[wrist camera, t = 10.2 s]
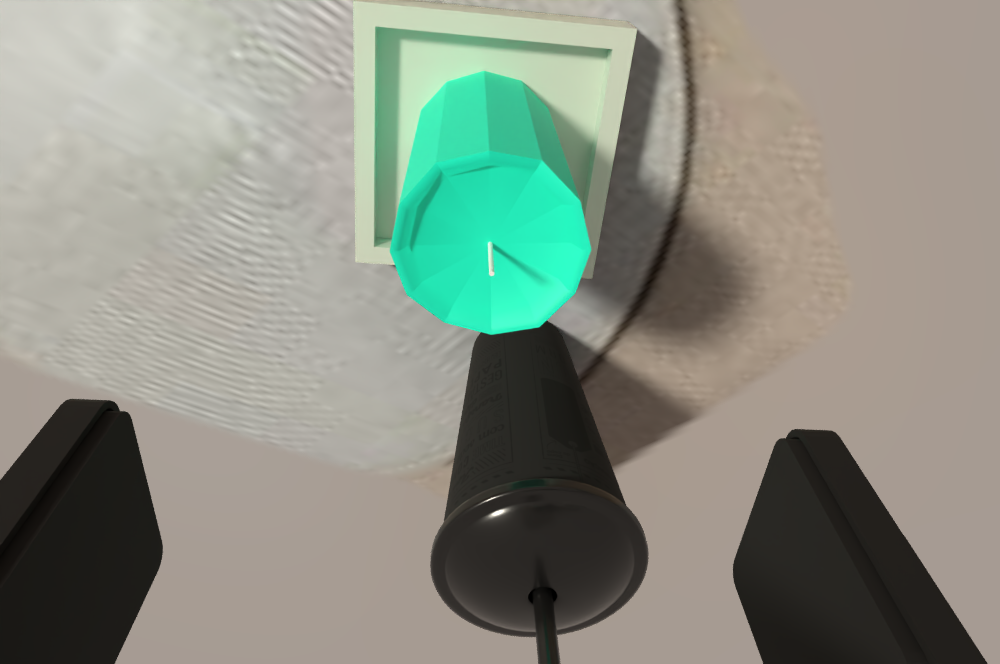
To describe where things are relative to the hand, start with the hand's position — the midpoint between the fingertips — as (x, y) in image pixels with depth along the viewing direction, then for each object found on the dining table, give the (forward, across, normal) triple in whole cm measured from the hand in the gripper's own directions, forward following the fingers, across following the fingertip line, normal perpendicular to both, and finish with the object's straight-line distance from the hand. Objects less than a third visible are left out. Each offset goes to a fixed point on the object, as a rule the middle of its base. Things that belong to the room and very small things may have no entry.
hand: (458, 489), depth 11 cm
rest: (+23, -1, +2) cm, 23 cm away
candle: (+22, -1, +2) cm, 22 cm away
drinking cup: (+23, -3, +13) cm, 26 cm away
